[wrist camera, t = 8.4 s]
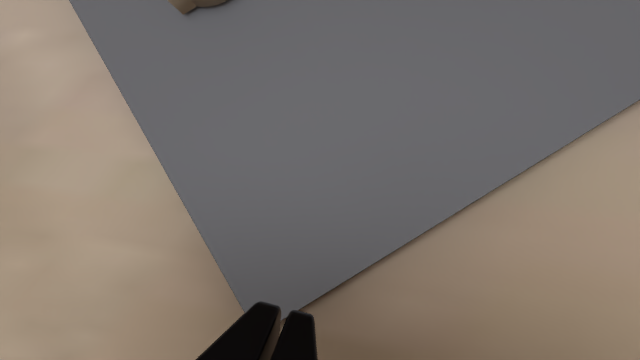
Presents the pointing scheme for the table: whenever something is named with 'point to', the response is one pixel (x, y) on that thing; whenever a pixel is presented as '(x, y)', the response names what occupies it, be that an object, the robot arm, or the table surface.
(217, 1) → the link
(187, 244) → the table surface
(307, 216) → the base board
